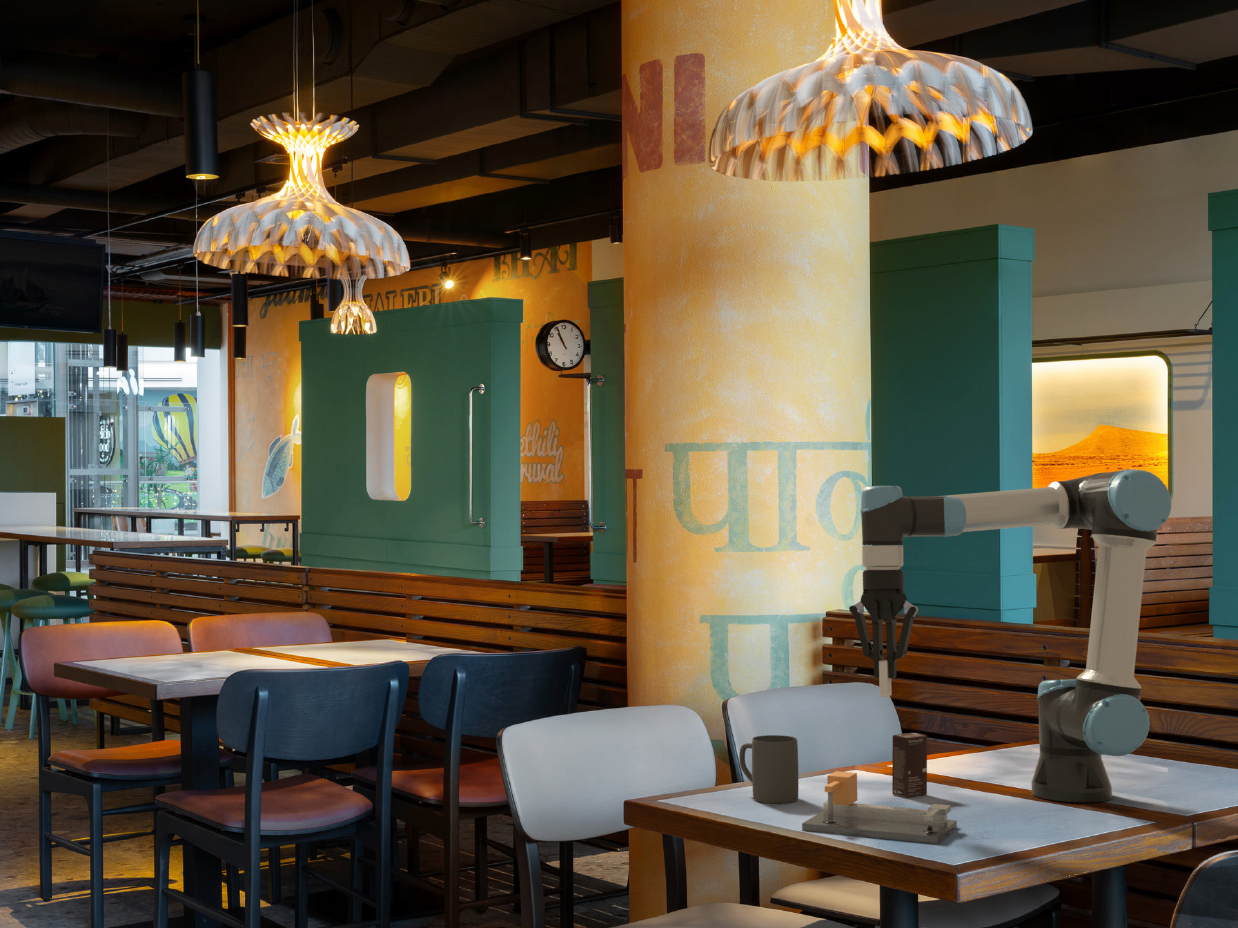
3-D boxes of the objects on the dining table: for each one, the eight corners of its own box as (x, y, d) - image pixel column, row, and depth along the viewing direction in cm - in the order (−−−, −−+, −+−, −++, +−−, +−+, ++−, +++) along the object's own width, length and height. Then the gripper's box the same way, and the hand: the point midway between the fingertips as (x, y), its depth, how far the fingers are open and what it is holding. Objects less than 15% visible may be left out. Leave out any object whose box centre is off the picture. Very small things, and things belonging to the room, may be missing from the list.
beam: (951, 822, 226) (950, 805, 226) (937, 834, 217) (936, 816, 217) (829, 810, 236) (828, 794, 236) (810, 821, 227) (810, 804, 227)
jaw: (857, 810, 234) (856, 772, 235) (839, 821, 225) (838, 782, 225) (836, 808, 236) (835, 771, 237) (817, 819, 227) (817, 780, 227)
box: (908, 798, 253) (906, 737, 254) (891, 794, 257) (890, 734, 257) (929, 794, 256) (928, 734, 257) (912, 791, 260) (911, 731, 261)
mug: (808, 799, 253) (807, 738, 254) (779, 806, 247) (778, 743, 247) (754, 790, 263) (753, 731, 264) (725, 796, 256) (725, 736, 257)
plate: (956, 827, 227) (956, 819, 227) (937, 843, 215) (937, 836, 215) (827, 814, 238) (827, 807, 239) (802, 830, 226) (802, 822, 226)
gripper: (922, 568, 238) (925, 695, 237) (855, 567, 244) (857, 692, 243) (912, 569, 232) (915, 699, 230) (843, 568, 238) (845, 696, 236)
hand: (885, 695), depth 236 cm, fingers closed
